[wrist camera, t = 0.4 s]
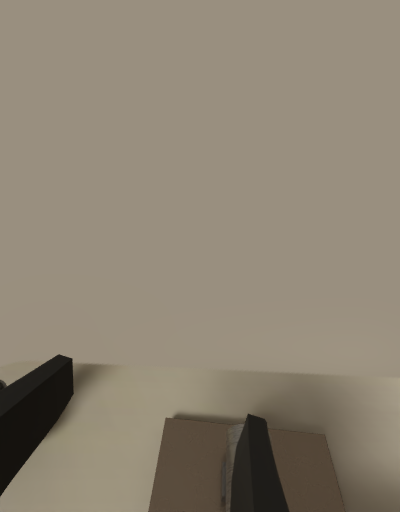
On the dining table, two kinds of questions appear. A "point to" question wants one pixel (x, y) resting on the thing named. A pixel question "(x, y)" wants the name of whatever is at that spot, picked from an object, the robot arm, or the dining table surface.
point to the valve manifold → (221, 468)
